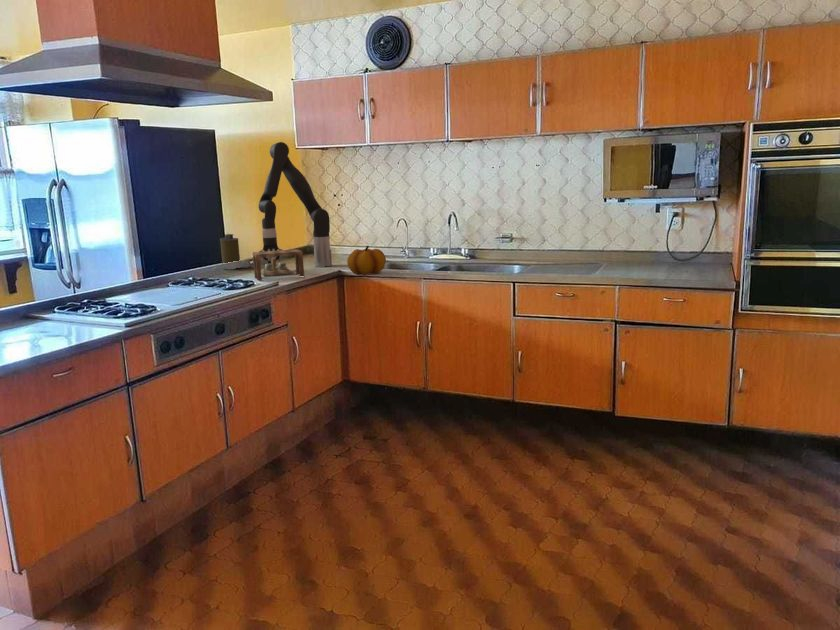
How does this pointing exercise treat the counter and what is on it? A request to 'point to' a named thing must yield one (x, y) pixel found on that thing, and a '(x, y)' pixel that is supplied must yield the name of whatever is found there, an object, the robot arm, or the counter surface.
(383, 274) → the counter surface
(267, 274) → the tray
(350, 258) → the decorative pumpkin
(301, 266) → the wooden rack
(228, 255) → the canister
